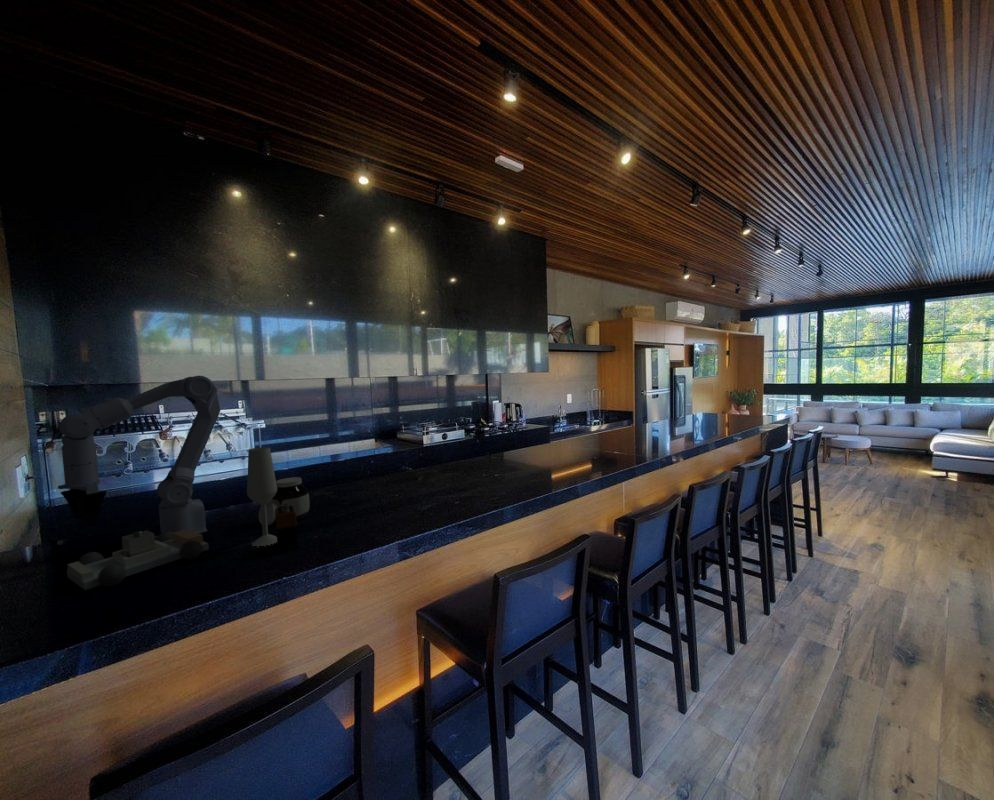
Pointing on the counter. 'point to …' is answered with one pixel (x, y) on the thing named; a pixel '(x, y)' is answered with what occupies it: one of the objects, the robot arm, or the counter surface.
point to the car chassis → (135, 560)
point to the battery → (286, 527)
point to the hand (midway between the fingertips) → (86, 520)
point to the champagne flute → (261, 487)
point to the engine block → (138, 543)
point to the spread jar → (288, 498)
